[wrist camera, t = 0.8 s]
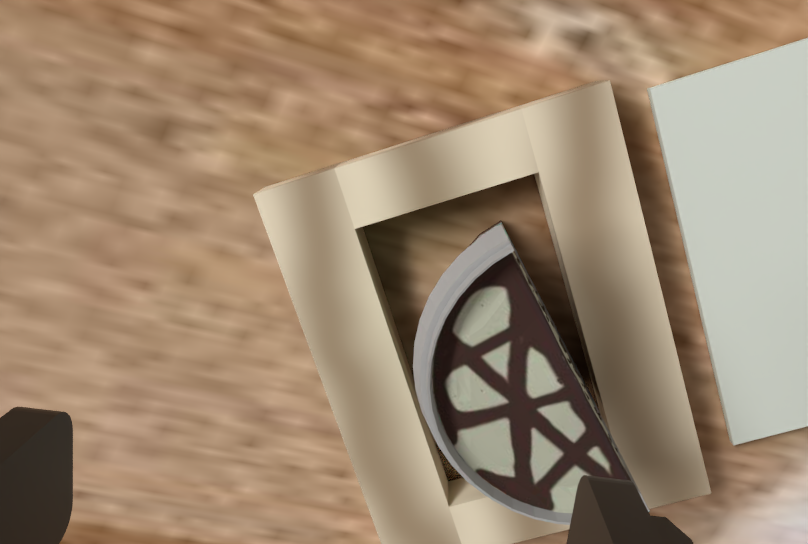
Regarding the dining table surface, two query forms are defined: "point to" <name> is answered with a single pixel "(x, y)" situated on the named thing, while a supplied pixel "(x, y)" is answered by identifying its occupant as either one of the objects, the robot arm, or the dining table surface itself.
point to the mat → (746, 227)
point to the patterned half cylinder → (507, 387)
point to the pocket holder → (583, 277)
